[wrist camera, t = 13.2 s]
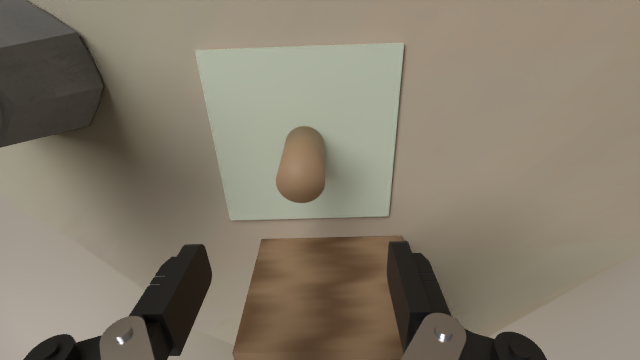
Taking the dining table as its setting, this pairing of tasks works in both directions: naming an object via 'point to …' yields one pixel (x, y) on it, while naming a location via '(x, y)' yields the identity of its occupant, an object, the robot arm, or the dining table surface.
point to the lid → (304, 128)
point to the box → (320, 302)
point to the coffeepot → (42, 75)
